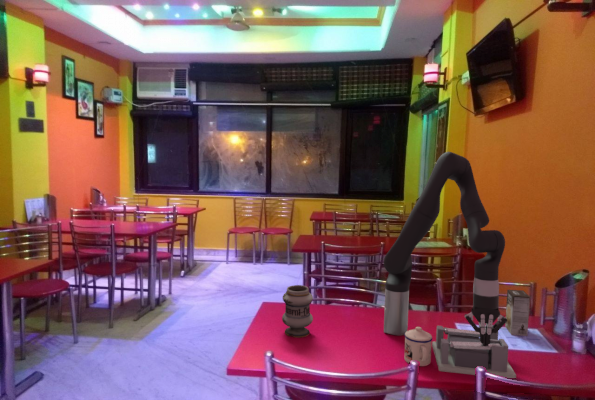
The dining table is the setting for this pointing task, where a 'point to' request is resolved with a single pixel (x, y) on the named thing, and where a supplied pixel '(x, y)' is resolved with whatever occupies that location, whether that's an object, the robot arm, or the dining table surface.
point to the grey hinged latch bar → (461, 332)
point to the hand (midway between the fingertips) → (484, 344)
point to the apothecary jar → (297, 310)
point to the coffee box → (517, 312)
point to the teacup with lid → (418, 346)
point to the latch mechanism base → (471, 355)
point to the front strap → (471, 345)
